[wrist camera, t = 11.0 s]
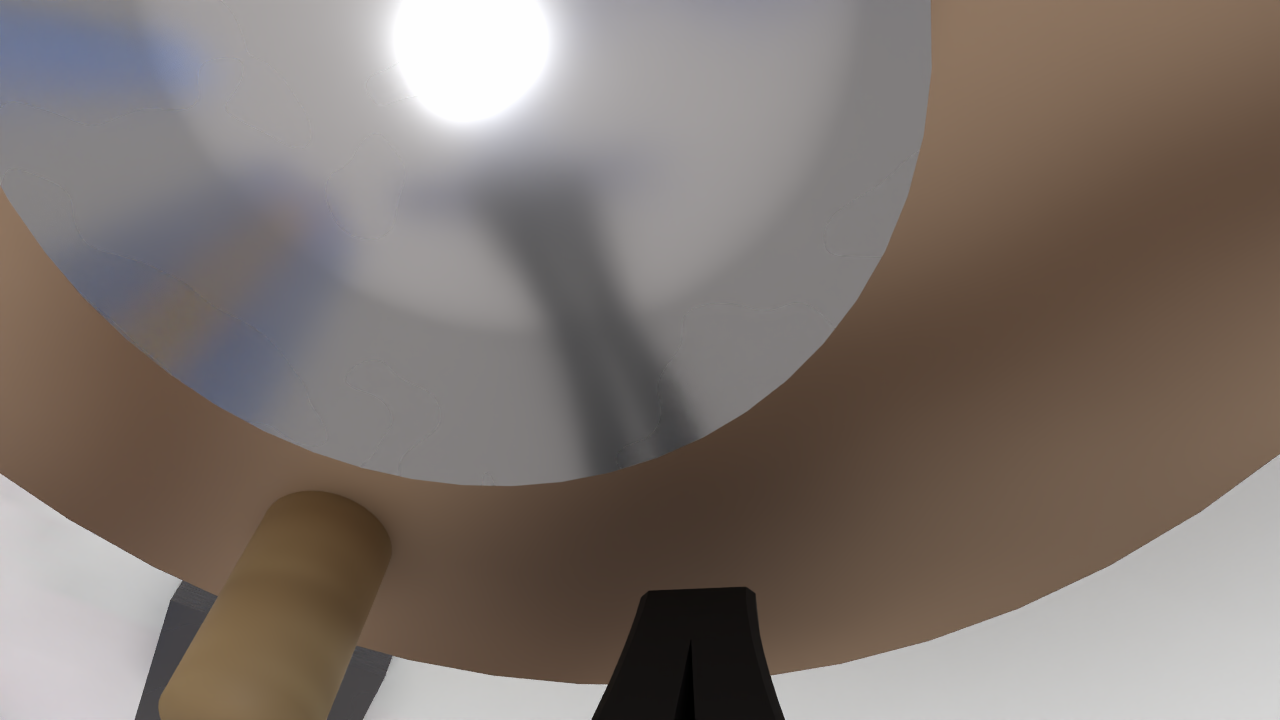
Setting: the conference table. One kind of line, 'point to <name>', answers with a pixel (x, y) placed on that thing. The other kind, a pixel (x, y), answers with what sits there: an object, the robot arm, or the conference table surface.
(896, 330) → the platter
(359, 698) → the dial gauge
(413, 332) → the aluminium cap
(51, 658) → the conference table surface
